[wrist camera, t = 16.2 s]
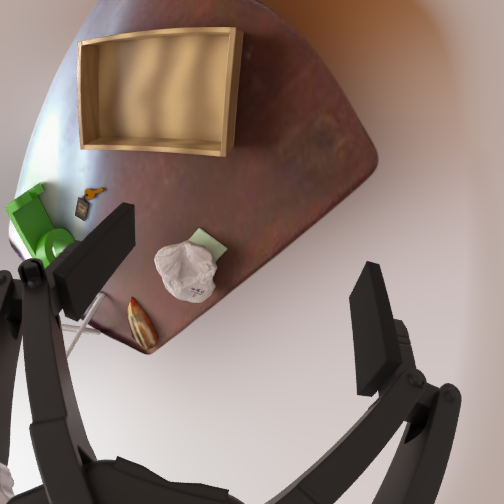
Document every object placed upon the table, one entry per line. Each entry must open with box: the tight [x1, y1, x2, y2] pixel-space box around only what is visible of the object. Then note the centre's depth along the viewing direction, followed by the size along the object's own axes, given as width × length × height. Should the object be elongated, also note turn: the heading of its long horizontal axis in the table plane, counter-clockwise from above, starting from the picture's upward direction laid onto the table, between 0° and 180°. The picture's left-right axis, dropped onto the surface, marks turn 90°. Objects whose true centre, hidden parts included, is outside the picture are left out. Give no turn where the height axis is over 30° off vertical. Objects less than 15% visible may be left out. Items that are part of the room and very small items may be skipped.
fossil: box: [154, 241, 217, 303], centre depth 44 cm, size 9×6×10 cm
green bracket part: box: [5, 183, 75, 268], centre depth 43 cm, size 15×7×5 cm
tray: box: [77, 27, 243, 157], centre depth 31 cm, size 19×14×4 cm
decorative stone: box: [126, 297, 158, 349], centre depth 56 cm, size 14×6×2 cm, turn 8°
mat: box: [188, 227, 228, 261], centre depth 46 cm, size 11×5×1 cm, turn 141°
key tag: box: [75, 188, 104, 221], centre depth 42 cm, size 8×3×1 cm, turn 136°
